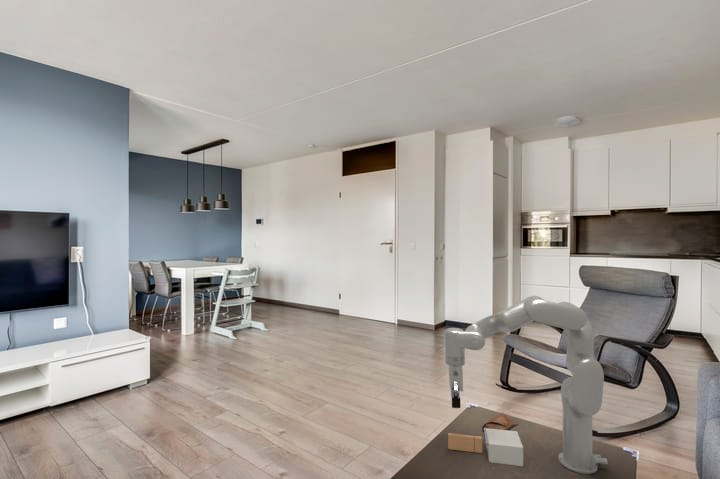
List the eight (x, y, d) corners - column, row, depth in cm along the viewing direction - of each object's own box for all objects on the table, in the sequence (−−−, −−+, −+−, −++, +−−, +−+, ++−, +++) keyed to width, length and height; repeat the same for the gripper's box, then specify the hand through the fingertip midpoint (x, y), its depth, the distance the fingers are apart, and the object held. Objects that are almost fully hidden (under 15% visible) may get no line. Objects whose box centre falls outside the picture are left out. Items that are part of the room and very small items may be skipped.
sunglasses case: (500, 438, 157) (492, 422, 159) (487, 441, 161) (479, 425, 164) (519, 424, 169) (511, 409, 172) (506, 427, 173) (499, 412, 176)
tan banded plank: (481, 450, 147) (481, 436, 147) (482, 453, 146) (482, 438, 146) (448, 446, 150) (448, 432, 150) (448, 449, 148) (448, 435, 149)
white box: (517, 448, 149) (517, 430, 149) (523, 466, 137) (523, 447, 137) (483, 444, 152) (483, 427, 152) (486, 461, 140) (486, 442, 140)
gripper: (465, 367, 140) (466, 413, 140) (463, 353, 157) (464, 394, 157) (445, 366, 142) (446, 411, 141) (445, 352, 158) (446, 393, 158)
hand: (455, 402), depth 149 cm, fingers open, 9 cm apart
